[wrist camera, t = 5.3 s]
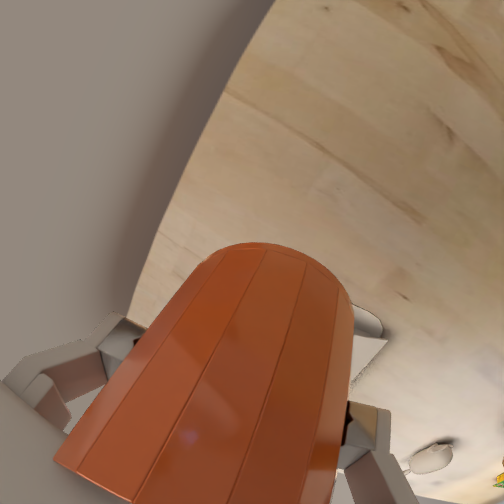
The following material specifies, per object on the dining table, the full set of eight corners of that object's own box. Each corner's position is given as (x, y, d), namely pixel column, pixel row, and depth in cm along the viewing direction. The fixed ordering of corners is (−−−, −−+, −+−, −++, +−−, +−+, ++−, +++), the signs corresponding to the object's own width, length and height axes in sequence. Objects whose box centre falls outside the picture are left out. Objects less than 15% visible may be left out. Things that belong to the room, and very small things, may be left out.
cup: (197, 216, 11) (7, 417, 4) (384, 279, 10) (372, 564, 3) (181, 383, 16) (108, 509, 9) (294, 424, 15) (249, 565, 8)
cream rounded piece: (436, 450, 35) (387, 465, 43) (448, 472, 33) (399, 485, 41) (453, 429, 39) (406, 447, 47) (464, 450, 36) (417, 466, 44)
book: (212, 380, 45) (202, 400, 42) (262, 264, 32) (251, 285, 29) (304, 418, 44) (299, 439, 40) (393, 322, 31) (395, 348, 28)
